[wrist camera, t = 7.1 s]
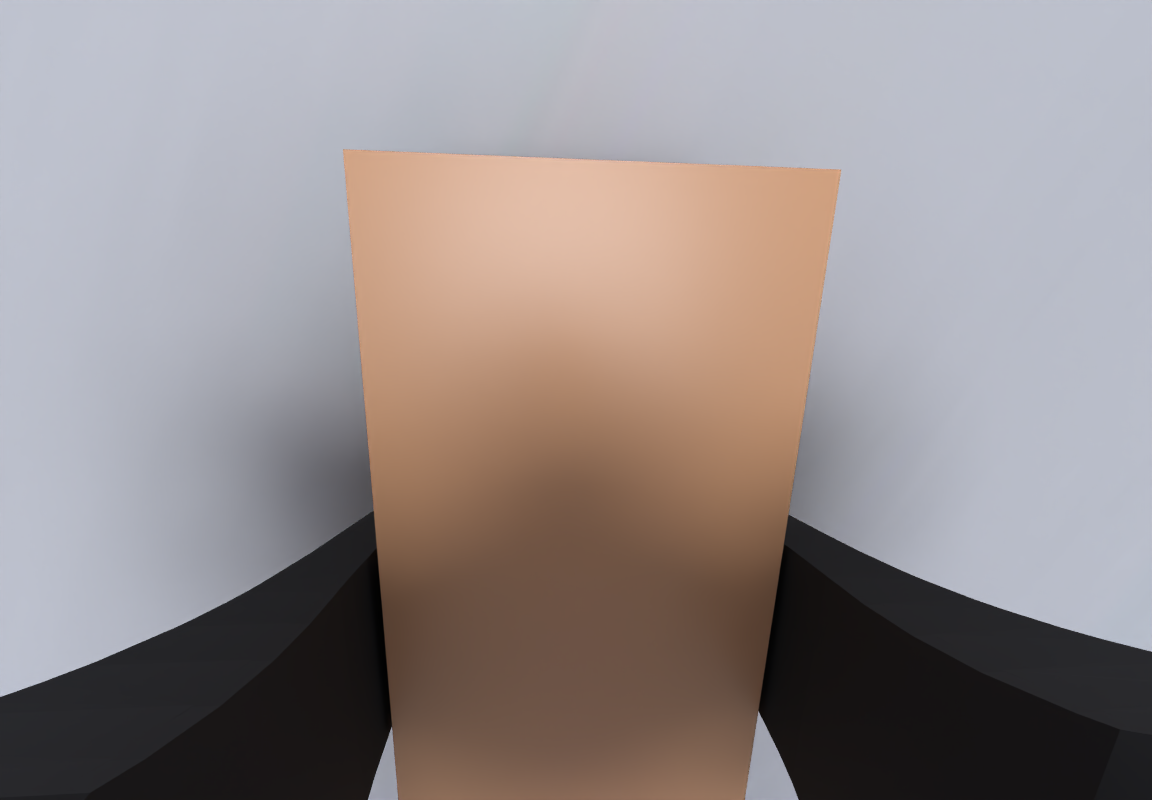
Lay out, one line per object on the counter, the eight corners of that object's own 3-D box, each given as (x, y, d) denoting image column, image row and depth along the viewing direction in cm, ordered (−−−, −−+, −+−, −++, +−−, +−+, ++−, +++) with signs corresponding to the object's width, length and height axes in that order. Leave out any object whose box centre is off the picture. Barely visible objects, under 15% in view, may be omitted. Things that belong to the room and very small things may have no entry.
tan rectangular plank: (673, 753, 13) (723, 937, 10) (445, 763, 13) (412, 960, 9) (730, 194, 10) (840, 169, 6) (415, 182, 9) (343, 149, 6)
